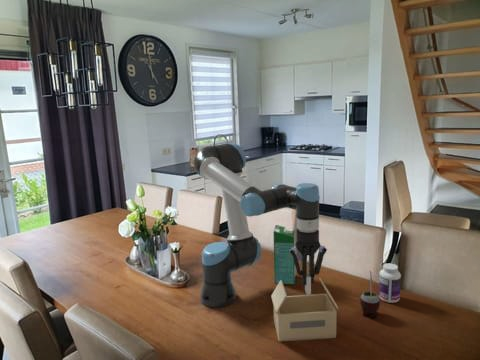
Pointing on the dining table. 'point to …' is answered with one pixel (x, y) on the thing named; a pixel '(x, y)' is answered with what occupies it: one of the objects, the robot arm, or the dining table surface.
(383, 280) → the pill bottle
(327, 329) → the carton
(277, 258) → the milk carton
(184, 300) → the dining table surface
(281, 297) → the flap left
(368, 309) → the mate gourd
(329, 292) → the flap right
